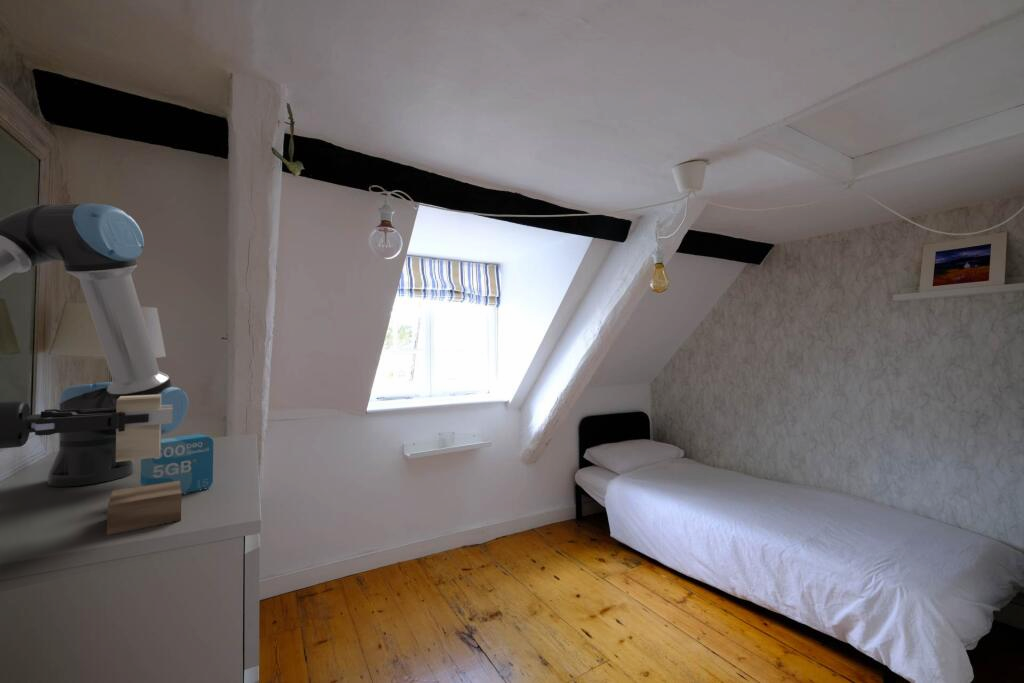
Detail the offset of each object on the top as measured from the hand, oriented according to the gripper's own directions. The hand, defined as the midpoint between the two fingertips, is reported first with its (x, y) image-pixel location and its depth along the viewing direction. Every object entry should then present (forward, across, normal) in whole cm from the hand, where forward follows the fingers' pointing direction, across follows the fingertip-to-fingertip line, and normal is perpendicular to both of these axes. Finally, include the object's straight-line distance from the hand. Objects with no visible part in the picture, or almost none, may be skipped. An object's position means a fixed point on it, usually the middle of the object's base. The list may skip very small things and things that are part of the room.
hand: (172, 413), depth 84 cm
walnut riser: (-3, +1, -19) cm, 19 cm away
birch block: (-5, 0, -8) cm, 9 cm away
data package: (+1, -14, -19) cm, 24 cm away
